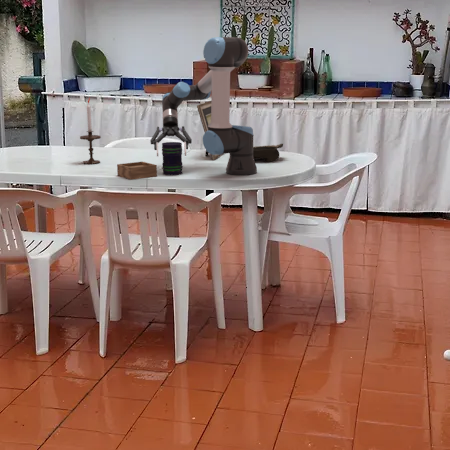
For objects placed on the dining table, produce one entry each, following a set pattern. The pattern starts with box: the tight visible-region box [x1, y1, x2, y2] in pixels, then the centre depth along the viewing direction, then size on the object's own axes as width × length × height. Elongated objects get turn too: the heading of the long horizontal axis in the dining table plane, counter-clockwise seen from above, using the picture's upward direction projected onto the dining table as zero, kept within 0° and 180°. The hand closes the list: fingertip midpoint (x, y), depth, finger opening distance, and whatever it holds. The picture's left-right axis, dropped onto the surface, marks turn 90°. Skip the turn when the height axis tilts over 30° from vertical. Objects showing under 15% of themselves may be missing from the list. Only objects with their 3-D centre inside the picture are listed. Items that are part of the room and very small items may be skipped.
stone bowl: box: [253, 143, 284, 163], centre depth 406 cm, size 25×25×9 cm
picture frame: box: [196, 100, 223, 161], centre depth 419 cm, size 33×10×30 cm, turn 168°
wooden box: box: [116, 161, 158, 181], centre depth 361 cm, size 14×14×6 cm
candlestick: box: [79, 97, 102, 165], centre depth 398 cm, size 11×11×35 cm
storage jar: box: [161, 141, 183, 176], centre depth 365 cm, size 10×10×15 cm
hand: (171, 154), depth 364 cm, fingers open, 13 cm apart
